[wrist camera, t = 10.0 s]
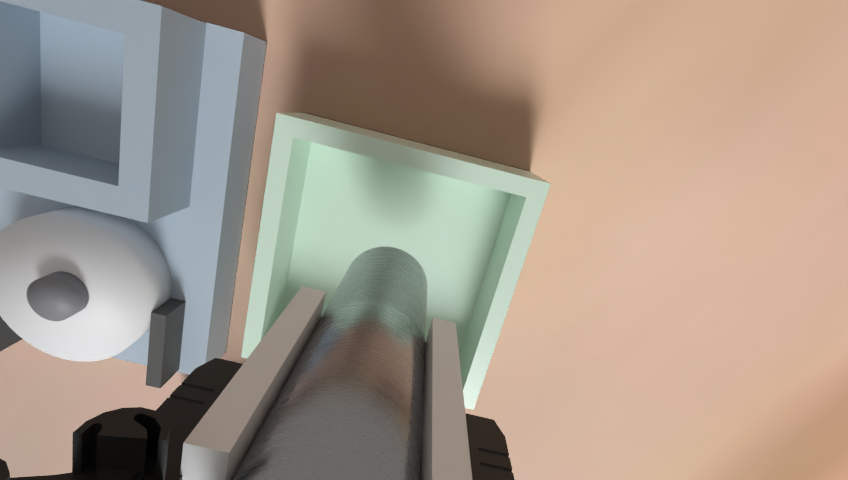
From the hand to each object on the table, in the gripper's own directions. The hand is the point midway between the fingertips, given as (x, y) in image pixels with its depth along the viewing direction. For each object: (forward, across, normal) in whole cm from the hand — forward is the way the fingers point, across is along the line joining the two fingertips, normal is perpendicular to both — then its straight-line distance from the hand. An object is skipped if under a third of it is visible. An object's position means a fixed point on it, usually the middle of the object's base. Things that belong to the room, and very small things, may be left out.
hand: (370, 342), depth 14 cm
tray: (+9, 0, 0) cm, 9 cm away
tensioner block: (+9, -14, 0) cm, 17 cm away
